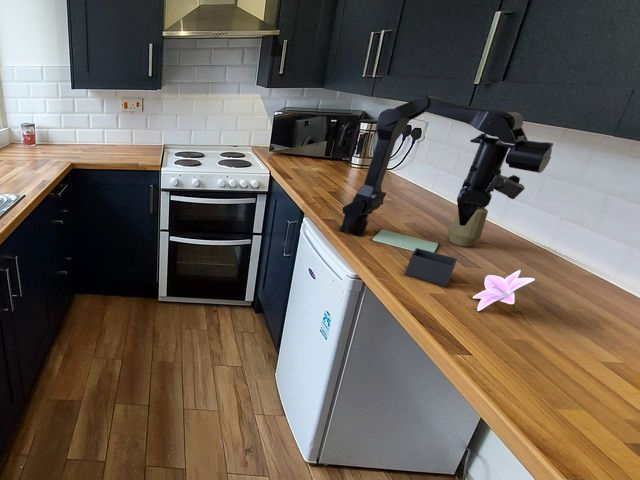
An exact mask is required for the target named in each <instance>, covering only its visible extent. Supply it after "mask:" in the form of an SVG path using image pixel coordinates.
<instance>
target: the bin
mask: <svg viewBox="0 0 640 480" xmlns="http://www.w3.org/2000/svg"><path fill="white" fill-rule="evenodd" d="M412 252H413V253H412V254H411V255H410V258H409V261H408V265H407V267H406V269H405V273H404V276H406V277H409V278H413V279H416V280H419V281H423V282H426V283H428V284H432V285H435V286H438V287H442V288H446V287H447V285H448V282H449V281H450V278H451V276H452V274H453V270H454V269H455V265H456V263H457V261H458V259H457V258H455V257H453V256H449V255H444V254H440V253H437V252H434V253H433V252H430V251H426V250H422V249H418V248H416V249H415V251H412Z"/></svg>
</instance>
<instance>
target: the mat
mask: <svg viewBox="0 0 640 480" xmlns="http://www.w3.org/2000/svg"><path fill="white" fill-rule="evenodd" d="M372 241H374V242H378V243H381V244H385V245H389V246H393V247H397V248H400V249H404V250H407V251H411V252H414V251H415V249H416V248H418V249H422V250H426V251H430V252H433V253H436V250H437V248H438V246H439V243H437V242H433V241H430V240H426V239H422V238H418V237H414V236H410V235H406V234H403V233H398V232H395V231H391V230H387V229H383V228H382V229H381V230H380V231H379V232H378V233H377V234H375V236H374V237H373V238H372Z"/></svg>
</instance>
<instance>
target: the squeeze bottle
mask: <svg viewBox="0 0 640 480" xmlns="http://www.w3.org/2000/svg"><path fill="white" fill-rule="evenodd" d="M486 207H487V206H486ZM486 207H482V208H480V209H477V210H476V212H475V213H474V214H473V216H472V217H471V218H470V220H469V221H468V222H467V224H466V225H465V226H462V225H460V222H459V213H458V212H457V214H456V216H455V217H454V219H453V221H452V223H451V225H450V227H449V230H448V235H449V237H448V238H449V239H448V240H449V242H450V243H452V244H455V245H457V246H461V247H469V248H470V247H472V246H473V245H475V244H476V242H477V241H478V240H479V239H481V237H482V234H483V230H484V226H485V225H486V220H487V217H488V212H489V210H488V209H487V208H486Z"/></svg>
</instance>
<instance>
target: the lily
mask: <svg viewBox="0 0 640 480" xmlns="http://www.w3.org/2000/svg"><path fill="white" fill-rule="evenodd" d="M520 274H521V269H519V270H516V271H515V272H513V273H511V274H509V275H508V276H506V277H505V278H504V277H502V276H499V275H495V274H488V275H486V276H485V278H484V288H485V289H484V290H482V291H480V292H478V293H476V294H475V295H474V296H472V299H480V301H479V302H478V305H477V308H476V309H477V310H476V311H477V312H479V311H482V310H483V309H485V308H486V307H488V306H490V305H491V304H493V303H495V302H496V301H499V302H501V303H505V304H508V305H512V307H513V310H514V312H515V313H516V312H517V309H516V305H515V291H516V290H518V289H520V288H521V287H524V286H526V285H527V284H529V283H532V282H534V281H535V280H536V279H535V278H534V277H520Z"/></svg>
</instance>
